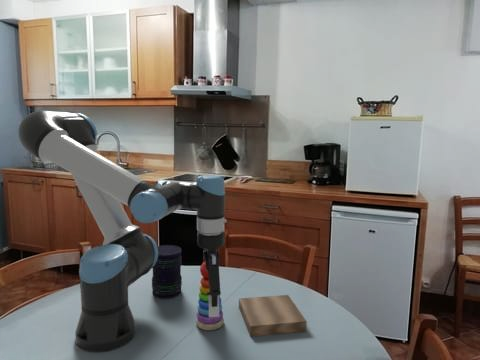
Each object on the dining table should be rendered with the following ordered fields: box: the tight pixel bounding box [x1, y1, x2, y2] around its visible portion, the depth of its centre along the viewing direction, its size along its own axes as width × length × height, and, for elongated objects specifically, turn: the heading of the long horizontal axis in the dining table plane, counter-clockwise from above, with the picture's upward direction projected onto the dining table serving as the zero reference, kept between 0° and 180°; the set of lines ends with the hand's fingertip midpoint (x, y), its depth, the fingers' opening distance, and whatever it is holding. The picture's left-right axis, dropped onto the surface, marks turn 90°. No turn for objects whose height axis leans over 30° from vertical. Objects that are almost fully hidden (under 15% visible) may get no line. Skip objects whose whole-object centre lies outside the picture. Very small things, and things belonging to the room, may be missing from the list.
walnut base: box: [238, 294, 308, 337], centre depth 108 cm, size 16×16×3 cm
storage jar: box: [151, 244, 183, 300], centre depth 123 cm, size 10×10×15 cm
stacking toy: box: [195, 262, 225, 331], centre depth 103 cm, size 8×8×19 cm
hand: (210, 304), depth 104 cm, fingers open, 13 cm apart
